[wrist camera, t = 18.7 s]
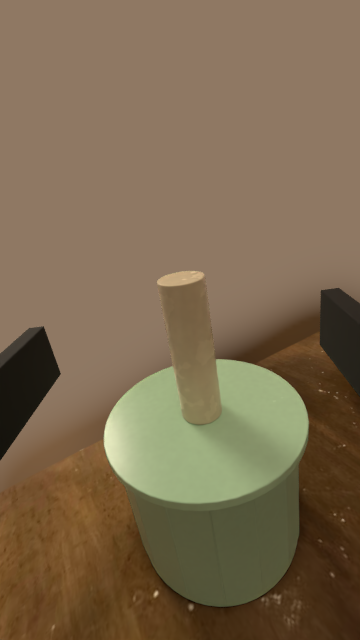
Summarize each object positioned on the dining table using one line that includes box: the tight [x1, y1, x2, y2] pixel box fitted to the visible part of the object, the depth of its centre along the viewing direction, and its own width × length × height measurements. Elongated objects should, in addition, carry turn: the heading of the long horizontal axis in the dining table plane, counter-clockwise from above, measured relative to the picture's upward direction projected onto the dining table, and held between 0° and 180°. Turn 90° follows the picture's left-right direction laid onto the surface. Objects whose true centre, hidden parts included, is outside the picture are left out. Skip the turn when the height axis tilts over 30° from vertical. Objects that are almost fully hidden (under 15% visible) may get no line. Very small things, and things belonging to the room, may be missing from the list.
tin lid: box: [104, 271, 309, 511], centre depth 19 cm, size 13×13×10 cm
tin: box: [125, 463, 299, 607], centre depth 23 cm, size 12×12×10 cm
